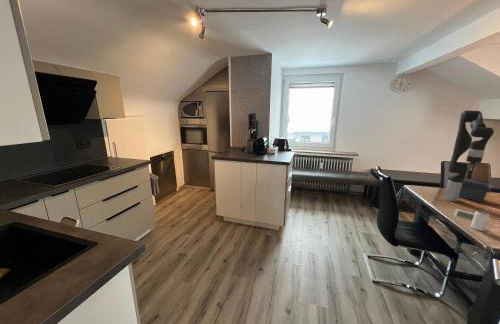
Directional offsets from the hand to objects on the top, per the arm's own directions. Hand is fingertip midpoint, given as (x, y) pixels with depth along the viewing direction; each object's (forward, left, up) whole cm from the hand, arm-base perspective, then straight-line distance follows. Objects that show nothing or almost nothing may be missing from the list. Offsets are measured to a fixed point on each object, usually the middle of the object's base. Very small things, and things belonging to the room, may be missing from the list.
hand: (468, 178), depth 151 cm
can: (+22, +11, -27) cm, 37 cm away
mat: (+4, +4, -27) cm, 28 cm away
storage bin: (-45, +2, -27) cm, 53 cm away
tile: (+4, +4, -26) cm, 26 cm away
